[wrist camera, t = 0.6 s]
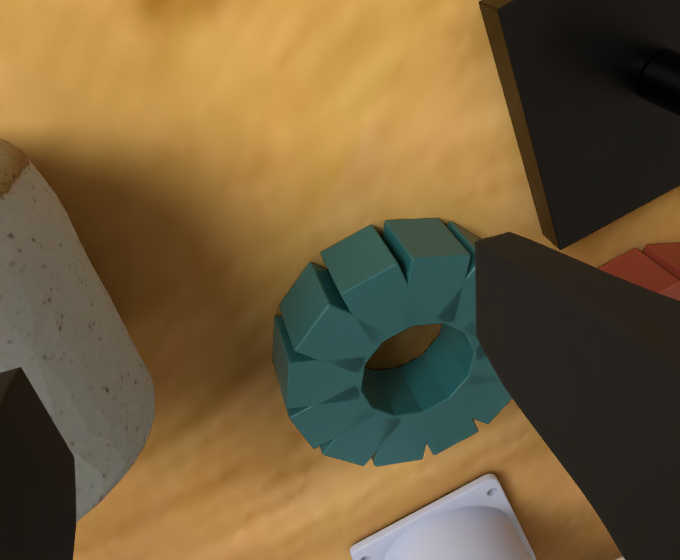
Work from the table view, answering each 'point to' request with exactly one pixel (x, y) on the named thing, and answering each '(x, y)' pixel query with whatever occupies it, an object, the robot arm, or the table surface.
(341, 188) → the table surface
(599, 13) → the peg stand
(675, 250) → the brick ring
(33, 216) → the ceramic mug
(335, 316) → the teal ring
